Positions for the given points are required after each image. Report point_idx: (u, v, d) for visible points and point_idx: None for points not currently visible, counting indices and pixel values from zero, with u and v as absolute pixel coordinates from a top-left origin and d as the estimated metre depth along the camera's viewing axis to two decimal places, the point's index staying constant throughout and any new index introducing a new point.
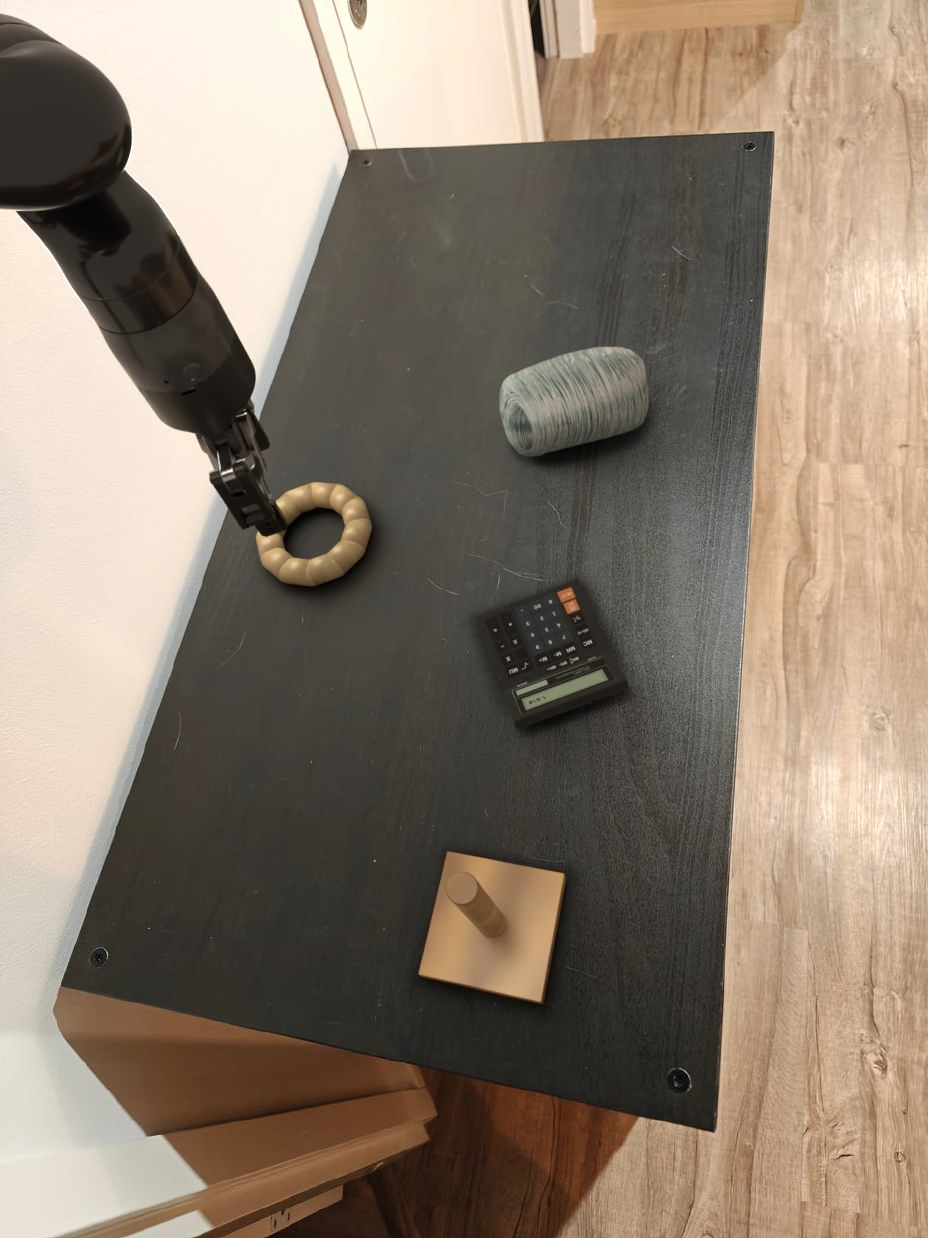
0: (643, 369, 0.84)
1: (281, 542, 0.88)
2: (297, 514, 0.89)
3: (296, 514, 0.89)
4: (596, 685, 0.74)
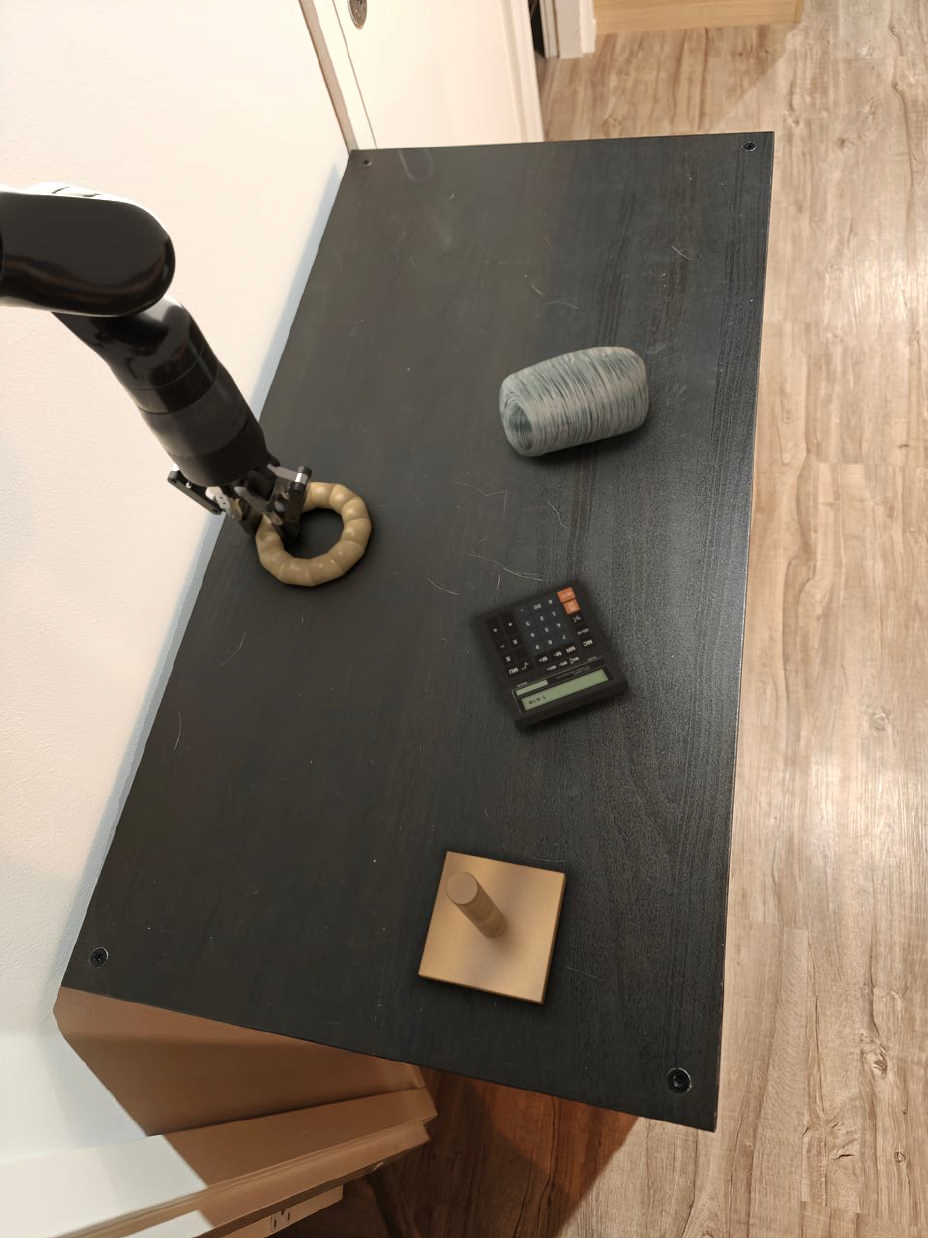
0: (643, 369, 0.84)
1: (281, 542, 0.88)
2: None
3: None
4: (596, 685, 0.74)
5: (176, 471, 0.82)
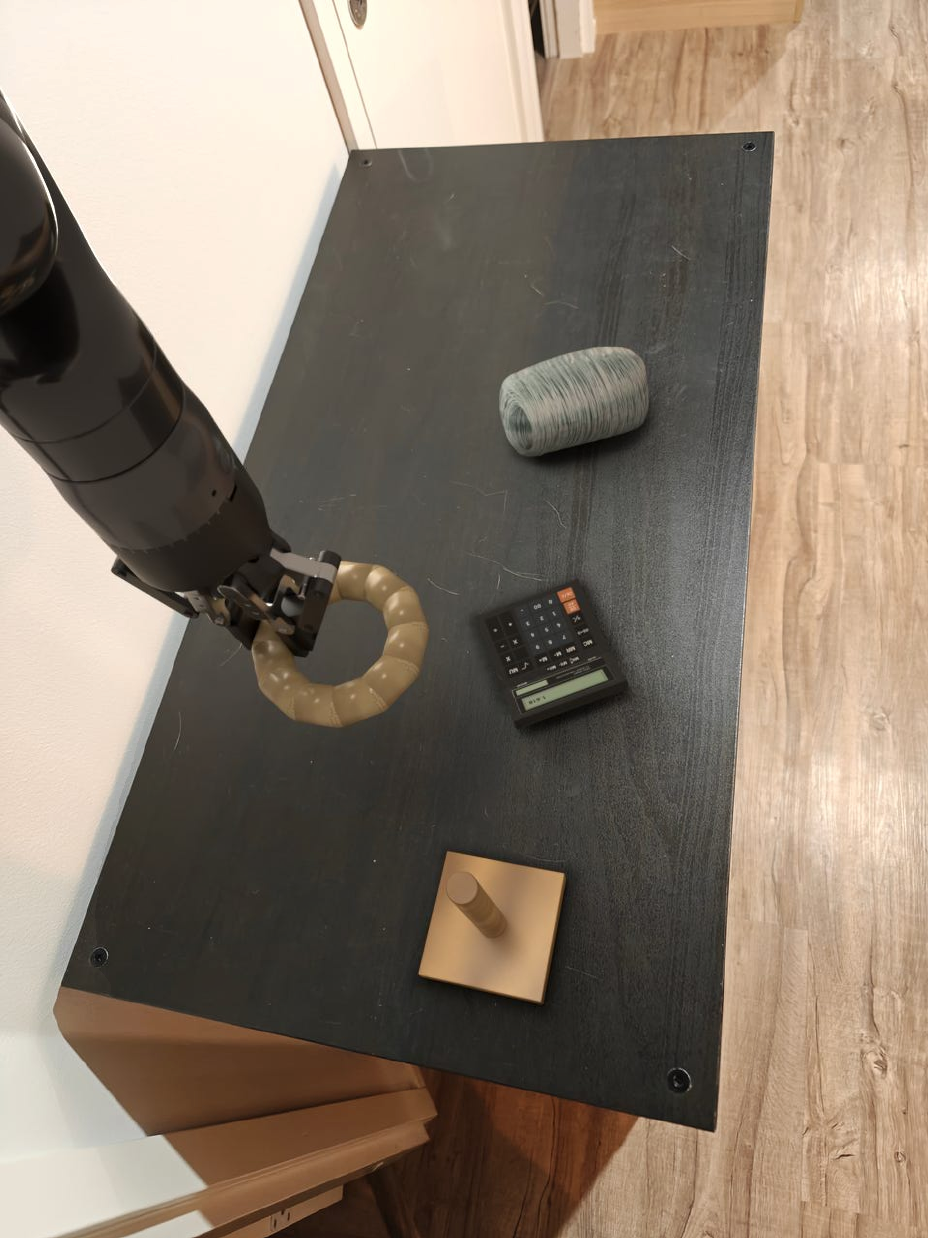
0: (643, 369, 0.84)
1: (290, 656, 0.57)
2: None
3: None
4: (596, 685, 0.74)
5: None
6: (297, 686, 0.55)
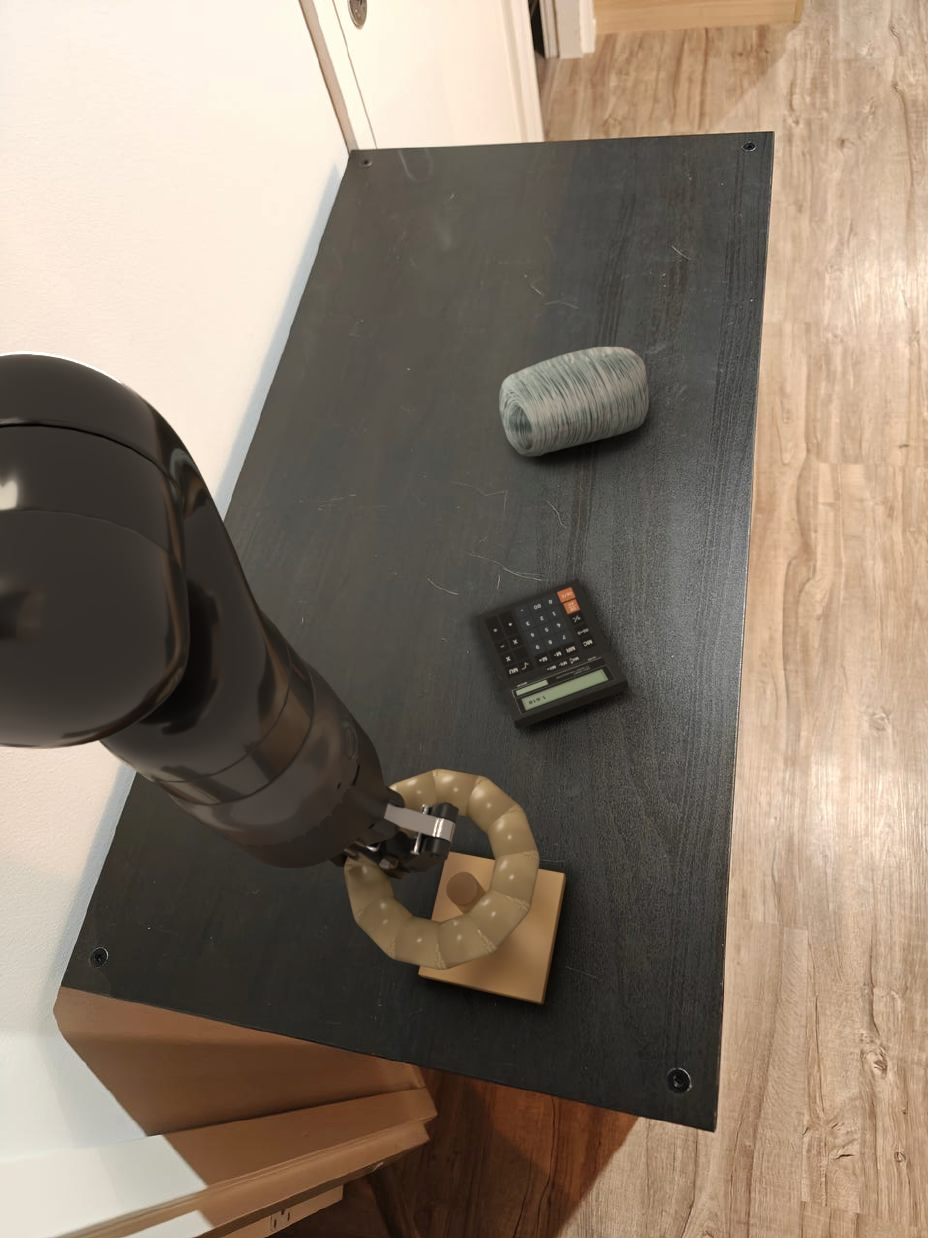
0: (643, 369, 0.84)
1: (387, 882, 0.53)
2: None
3: None
4: (596, 685, 0.74)
5: None
6: (398, 924, 0.51)
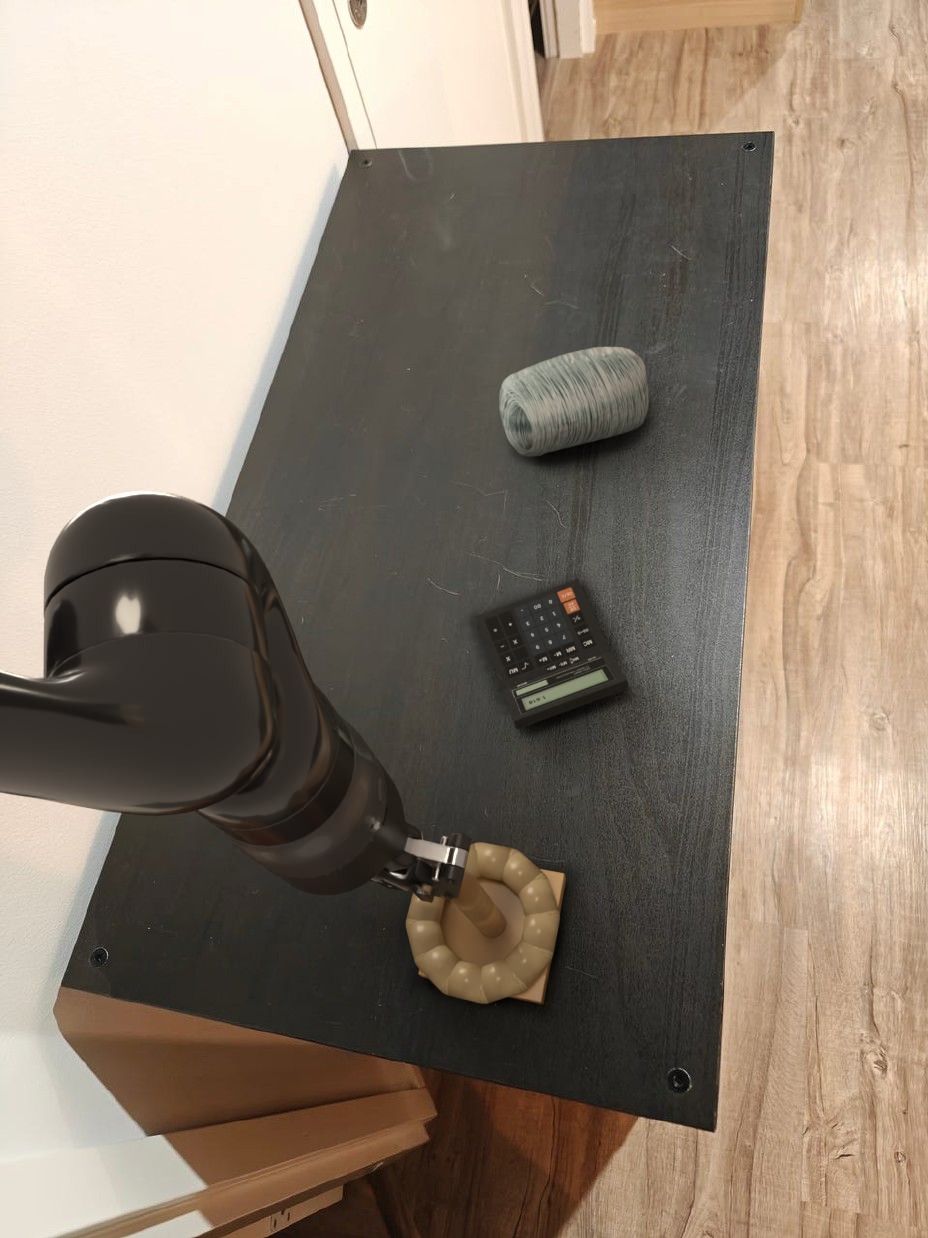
0: (643, 369, 0.84)
1: (440, 934, 0.67)
2: None
3: None
4: (596, 685, 0.74)
5: None
6: (450, 967, 0.65)
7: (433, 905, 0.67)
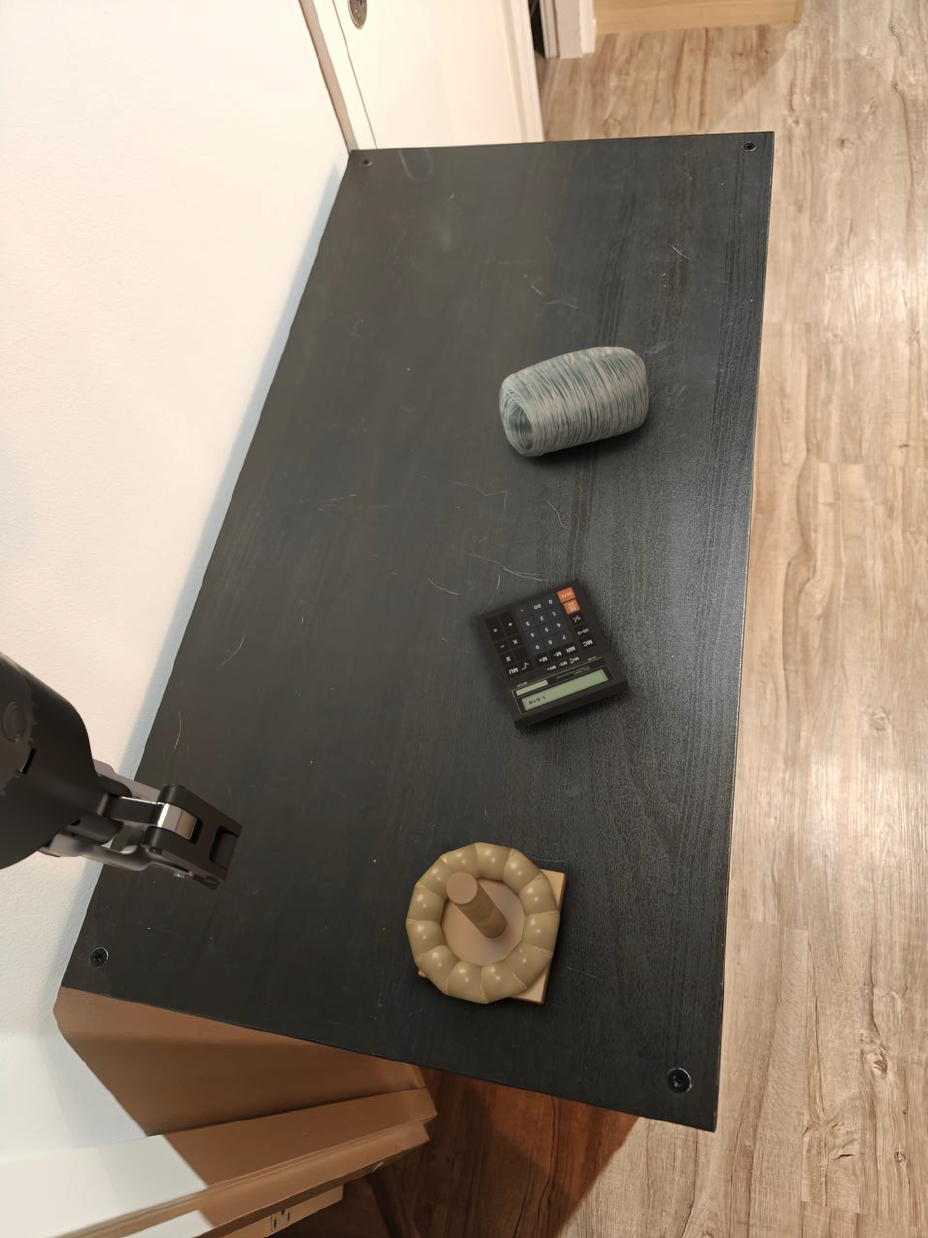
0: (643, 369, 0.84)
1: (440, 934, 0.67)
2: None
3: None
4: (596, 685, 0.74)
5: None
6: (450, 967, 0.65)
7: (433, 905, 0.67)
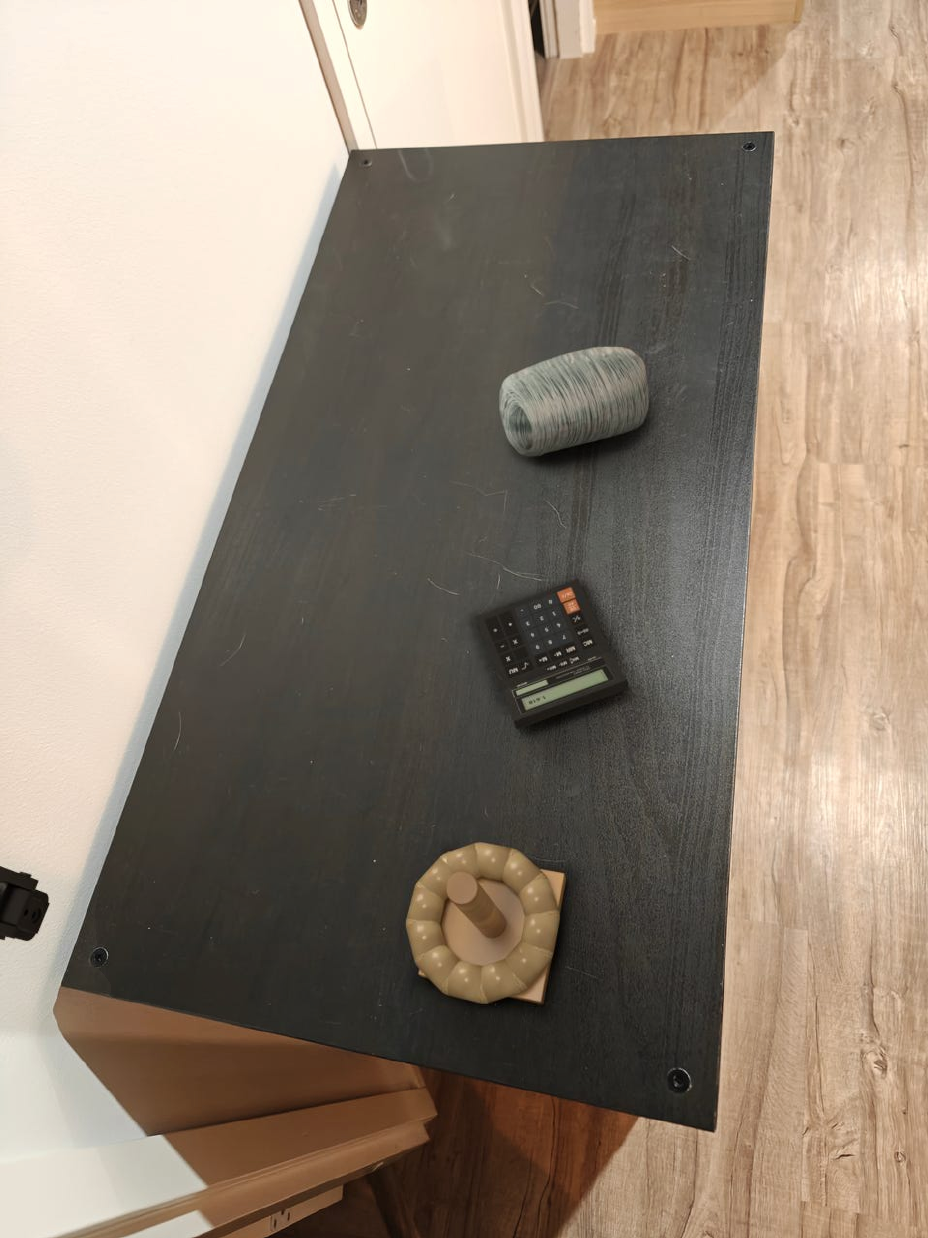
0: (643, 369, 0.84)
1: (440, 934, 0.67)
2: None
3: None
4: (596, 685, 0.74)
5: None
6: (450, 967, 0.65)
7: (433, 905, 0.67)
